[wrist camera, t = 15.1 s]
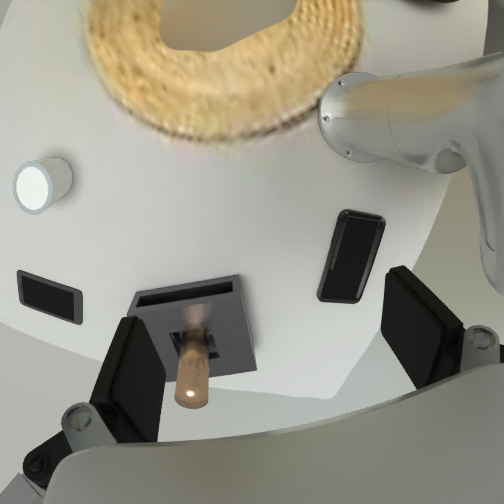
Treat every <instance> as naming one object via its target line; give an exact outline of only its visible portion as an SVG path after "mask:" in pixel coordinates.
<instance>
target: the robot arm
mask: <svg viewBox="0 0 504 504" xmlns="http://www.w3.org/2000/svg"><path fill="white" fill-rule="evenodd" d="M338 82H340V85H339V84H338ZM324 117H325V118H326V120H325V121H324V120H323V118H324ZM318 120H319V125H320V129H321V132H322V134H323V136H324V138H325V140H326V141H327V142H328V144H329V145H330V146H331V147H332V148H333V149H334V150H335V151H336V152H337V153H339V154H340V155H341V156H343V157H345V158H348V159H350V160H353V161H356V162H373V161H376V160H379V159H381V158H383V157H384V158H387V159H390V160H394V161H397V162H400V163H403V164H406V165H409V166H412V167H416V168H419V169H422V170H425V171H428V172H431V173H436V174H449V173H453V172H456V171H458V170H461V169H462V168H464V167H466V166H467V167H468V171H469V175H470V179H471V185H472V191H473V194H474V198H475V205H476V212H477V221H478V231H479V242H480V253H481V260H482V265H483V270H484V273H485V275H486V277H487V279H488V281H489V283H490V284H491V286H492V287H493V288H494V289H495V290H496V291H497V292H498V293H500V294H501V295H503V296H504V51H503V52H497V53H493V54H489V55H486V56H483V57H480V58H476V59H473V60H470V61H467V62H464V63H460V64H456V65H452V66H448V67H443V68H437V69H431V70H424V71H418V72H411V73H405V74H399V75H393V76H388V77H382V78H378V77H376V76H374V75H371V74H368V73H363V72H352V73H347V74H344V75H342V76H339V77H337V78H336V79H334V80H333V81H332V82H330V84H329V85H328V86H327V87H326V88H325V90H324V92H323V94H322V95H321V98H320V102H319V106H318ZM347 151H348V152H349V153H348V154H347ZM381 333H382V335H383V337H384V338H385V340H386V341H387V343H388V344H389V346H390V347H391V349H392V351H393V352H394V354H395V355H396V357H397V358H398V360H399V361H400V363H401V365H402V366H403V368H404V369H405V371H406V373H407V374H408V376H409V377H410V379H411V381H412V382H413V384H414V386H415V387H416V389H417V390H416V391H413V392H410V393H408V394H405V395H402V396H399V397H397V398H394V399H391V400H388V401H386V402H382V403H380V404H377V405H373V406H370V407H367V408H364V409H360V410H357V411H353V412H350V413H346V414H343V415H339V416H335V417H332V418H328V419H324V420H320V421H316V422H311V423H307V424H302V425H298V426H293V427H288V428H283V429H277V430H272V431H267V432H260V433H254V434H247V435H240V436H232V437H223V438H214V439H203V440H189V441H175V442H174V441H173V442H157V438H158V431H159V423H160V415H161V408H162V401H163V394H164V387H165V381H166V370H165V368H164V365H163V363H162V361H161V359H160V357H159V355H158V353H157V350H156V348H155V346H154V344H153V342H152V339H151V337H150V335H149V333H148V330H147V328H146V326H145V323H144V321H143V320H142V319H139V318H138V317H137V316H130V317H123V318H122V319H121V320H120V323H119V325H118V328H117V330H116V332H115V335H114V337H113V340H112V342H111V345H110V347H109V350H108V352H107V355H106V357H105V359H104V362H103V365H102V367H101V370H100V373H99V375H98V378H97V381H96V384H95V386H94V389H93V392H92V395H91V398H90V401H89V403H84V402H82V403H77V404H75V405H72V406H71V407H70V408H68V409H67V410H66V412H65V413H64V415H63V417H62V421H61V425H62V429H63V430H62V431H61V432H59V433H58V434H56V435H55V436H53V437H52V438H50V439H49V440H47V441H46V442H44V443H43V444H41V445H40V446H38V447H36V448H35V449H33V450H32V451H31V452H29V453H28V454H27V456H26V457H25V459H24V462H23V472H24V473H23V474H22V475H21V474H20V473H18V474H17V475H16V477H15V478H14V479H13V480H12V481H11V482H10V483H9V485H8V486H7V487H6V488H5V489H4V490H3V491H2V493H1V494H0V504H504V345H501V344H500V343H499V337H498V335H497V334H496V333H495V332H494V331H493V330H492V329H490V328H489V327H486V326H483V325H475V326H471V327H469V328H468V329H467V330H465V328H464V327H463V323H462V322H461V321H460V320H459V319H458V318H457V317H456V316H455V314H454V313H453V312H452V311H451V310H450V309H448V307H447V306H446V305H445V304H444V303H443V302H442V301H441V300H440V299H439V298H438V297H437V296H436V295H435V294H434V293H433V292H432V291H431V290H430V289H429V288H428V287H427V286H426V285H425V284H424V283H422V282H421V281H420V280H419V279H418V278H417V277H416V276H415V275H414V274H413V273H412V272H411V271H410V270H409V269H408V268H407V267H405V266H404V265H402V266H398V267H394V268H391V269H390V270H389V273H386V276H385V289H384V300H383V311H382V320H381Z"/></svg>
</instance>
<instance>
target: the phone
mask: <svg viewBox="0 0 504 504" xmlns="http://www.w3.org/2000/svg"><path fill="white" fill-rule="evenodd" d="M385 225H386V222H385V220H384V219H383V218H382V217H381V216H377V215H372V214H367V213H362V212H357V211H352V210H343V211H341V212H340V214H339V216H338V220H337V223H336V228H335V231H334V234H333V238H332V241H331V246H330V250H329V253H328V257H327V260H326V264H325V267H324V270H323V274H322V277H321V281H320V284H319V287H318V290H317V298H318V299H319V301H321V302H330V303H346V304H355V303H357V302H359V301H360V299H361V297H362V294H363V291H364V289H365V286H366V283H367V280H368V278H369V275H370V272H371V269H372V266H373V263H374V260H375V257H376V254H377V251H378V248H379V245H380V242H381V239H382V235H383V232H384V229H385Z"/></svg>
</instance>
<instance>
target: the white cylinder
mask: <svg viewBox="0 0 504 504" xmlns="http://www.w3.org/2000/svg"><path fill="white" fill-rule="evenodd" d="M71 184H72V171H71V168H70V166H69V165H68V163H67V162H66V161H64V160H62V159H61V158H51V159H43V160H36V161H29V162H27V163H25V164H23V165H21V166H20V168H19V169H18V170H17V171H16V173H15V177H14V180H13V193H14V196H15V200H16V202H17V203H18V205H19V206H20V208H21V209H22V210H23V211H25V212H26V213H28V214H33V215H37V214H40V213H42V212H44V211H45V210H46V209H47V208H49V207H50V206H51V205H52V204H53V203H55V202H56V201H57V200H58V199H59V198H61V197H62V196H63V195H64V194H65V193H66V192H67V191H68V190H69V189H70V187H71Z"/></svg>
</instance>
